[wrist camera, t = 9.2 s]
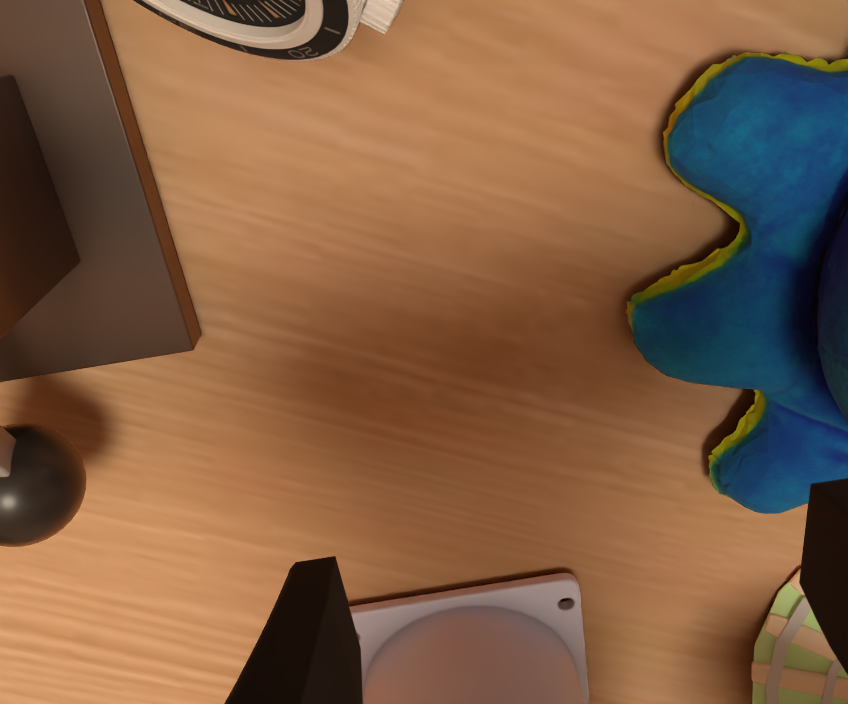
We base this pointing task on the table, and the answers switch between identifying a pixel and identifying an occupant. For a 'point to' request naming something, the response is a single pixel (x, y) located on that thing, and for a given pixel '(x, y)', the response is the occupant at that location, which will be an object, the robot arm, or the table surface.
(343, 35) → the watch
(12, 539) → the rod arm
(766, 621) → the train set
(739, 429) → the plush toy
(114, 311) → the rod stand
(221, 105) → the table surface
